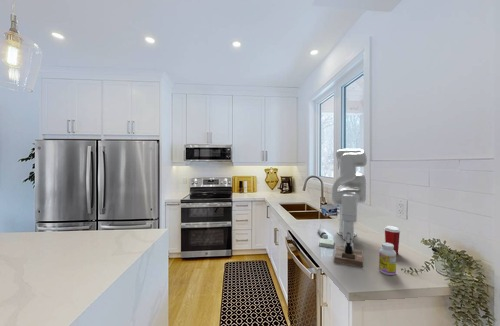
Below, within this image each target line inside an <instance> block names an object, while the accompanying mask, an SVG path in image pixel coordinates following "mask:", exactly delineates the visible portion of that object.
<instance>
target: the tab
mask: <svg viewBox="0 0 500 326" xmlns="http://www.w3.org/2000/svg"><path fill="white" fill-rule="evenodd" d="M318 244H319V245H318V246H319V247H324V248H331V249H334V246H335V240H334V239H329V238H328V239H323V238H322V237H321V238H320V240H319V243H318Z"/></svg>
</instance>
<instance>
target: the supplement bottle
mask: <svg viewBox="0 0 500 326" xmlns="http://www.w3.org/2000/svg"><path fill="white" fill-rule="evenodd" d="M393 249H394V245H393V244H390V243H385V242H382V243H381V248H380V249H379V255H378V257H379V258H378V260H379V261H378V262H379V263H378V270H379V271H380V272H381V273H382V274H384V275H387V276H394V275H396V274H397V255H396V252H395V251H394V250H393Z"/></svg>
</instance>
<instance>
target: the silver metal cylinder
mask: <svg viewBox="0 0 500 326" xmlns="http://www.w3.org/2000/svg"><path fill="white" fill-rule="evenodd" d="M345 245H346V240H344V242H343V247H344V252H345ZM351 246H352V253H353V249H354V242H353V241H352V244H351Z"/></svg>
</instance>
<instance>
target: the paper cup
mask: <svg viewBox="0 0 500 326" xmlns="http://www.w3.org/2000/svg"><path fill="white" fill-rule="evenodd" d="M383 230H384V241H385V242H384V243H390V244H393V245H394V249H393V250H394V251H395V252H396V256H397V255H399V247H400V246H399V245H400V233H401V230H400V228H399V227H397V226H392V225H386V226H385V227H384V229H383Z"/></svg>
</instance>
